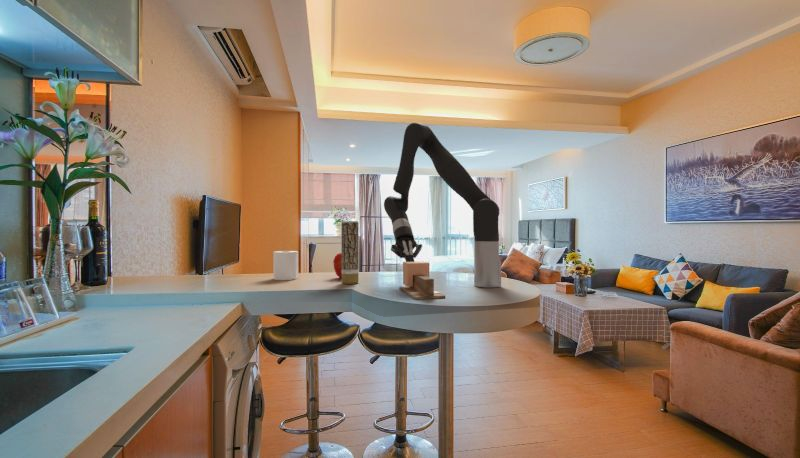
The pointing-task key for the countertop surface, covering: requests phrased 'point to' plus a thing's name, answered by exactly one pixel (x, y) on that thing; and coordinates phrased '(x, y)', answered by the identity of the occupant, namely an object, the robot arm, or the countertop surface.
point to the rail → (422, 288)
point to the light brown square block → (414, 271)
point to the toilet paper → (285, 265)
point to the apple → (338, 264)
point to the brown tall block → (350, 252)
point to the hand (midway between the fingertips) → (411, 264)
